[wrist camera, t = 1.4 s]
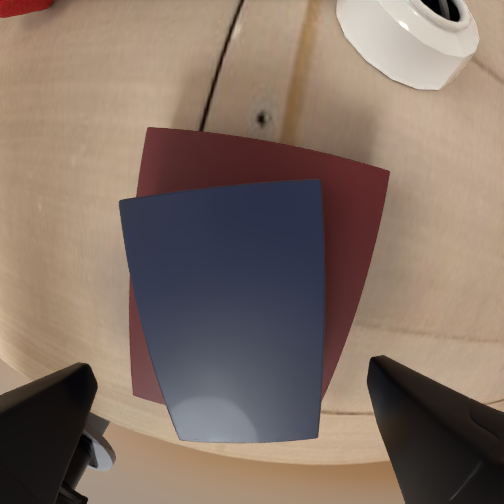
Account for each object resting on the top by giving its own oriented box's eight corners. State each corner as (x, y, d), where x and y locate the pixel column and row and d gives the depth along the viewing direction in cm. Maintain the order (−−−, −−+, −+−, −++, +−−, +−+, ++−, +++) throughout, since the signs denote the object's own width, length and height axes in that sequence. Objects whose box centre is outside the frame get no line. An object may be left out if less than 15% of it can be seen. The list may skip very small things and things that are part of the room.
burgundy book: (304, 397, 18) (309, 427, 15) (148, 369, 18) (132, 395, 15) (367, 172, 14) (390, 171, 11) (167, 136, 14) (146, 126, 11)
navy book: (309, 392, 14) (318, 438, 11) (192, 396, 14) (178, 440, 11) (304, 180, 12) (321, 178, 8) (153, 195, 12) (116, 200, 9)
